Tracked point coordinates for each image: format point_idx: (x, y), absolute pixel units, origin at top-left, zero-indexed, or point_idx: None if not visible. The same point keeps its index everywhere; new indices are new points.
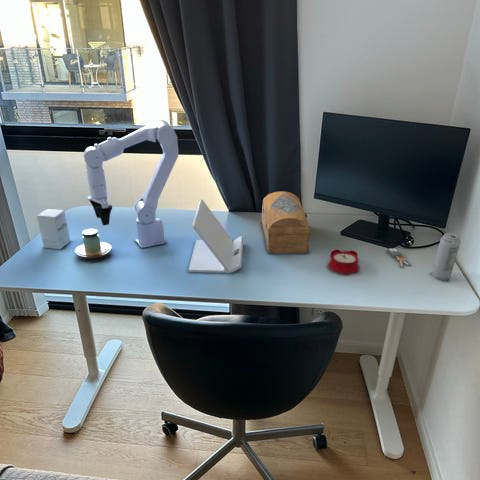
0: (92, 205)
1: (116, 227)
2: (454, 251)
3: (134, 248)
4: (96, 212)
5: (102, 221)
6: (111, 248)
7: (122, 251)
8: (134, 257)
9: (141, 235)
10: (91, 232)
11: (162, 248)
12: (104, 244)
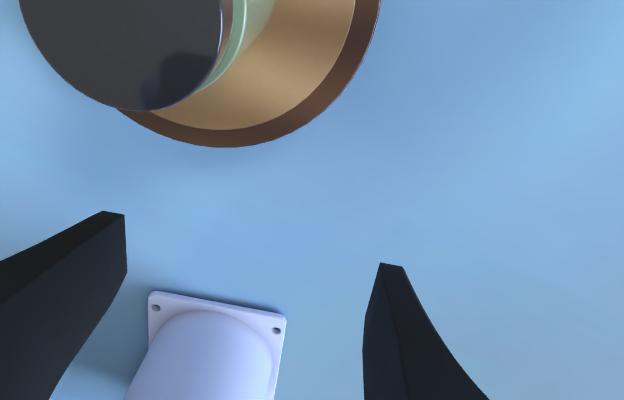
0: (443, 390)
1: (588, 332)
2: None
3: (177, 257)
4: (386, 317)
5: (59, 237)
6: (137, 122)
7: (170, 181)
8: (43, 196)
9: (157, 362)
10: (82, 17)
11: (102, 358)
12: (231, 109)
